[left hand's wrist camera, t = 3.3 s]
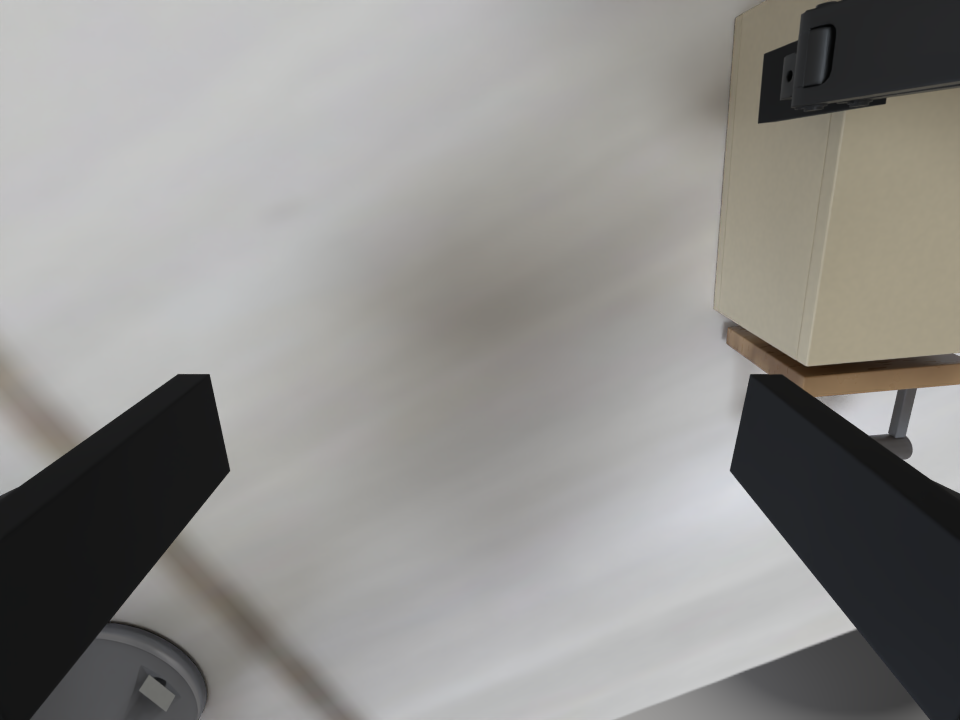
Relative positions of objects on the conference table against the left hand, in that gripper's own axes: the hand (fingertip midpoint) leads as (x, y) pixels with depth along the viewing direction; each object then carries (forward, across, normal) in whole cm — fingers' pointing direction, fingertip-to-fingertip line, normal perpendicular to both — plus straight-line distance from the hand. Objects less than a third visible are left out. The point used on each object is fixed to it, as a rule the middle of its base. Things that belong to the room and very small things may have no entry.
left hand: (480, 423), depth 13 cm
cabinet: (+22, -20, -6) cm, 30 cm away
